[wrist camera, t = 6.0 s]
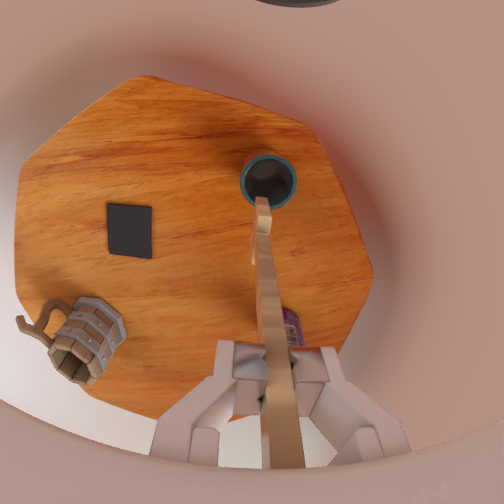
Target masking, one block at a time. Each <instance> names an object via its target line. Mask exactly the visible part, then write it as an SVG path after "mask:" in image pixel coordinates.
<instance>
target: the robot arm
mask: <svg viewBox="0 0 504 504" xmlns="http://www.w3.org/2000/svg"><path fill="white" fill-rule="evenodd" d="M266 353H267V352H266V345H265V344H259V343H250V342H241V341H230V340H222V339H218V342H217V349H216V357H215V365H214V373H213V376H207V377H206V378H205V379H204V380H203V381H202V382H201V383H199V384H198V385H197V386H196V387H195V388H194V389H192V390H191V391H190V392H189V393H188V394H187V395H185V396H184V397H183V398H182V399H181V400H180V401H178V402H177V403H176V404H175V405H174V406H172V407H171V408H170V409H169V410H168V411H166V412H165V413H164V414H163V415H161V416H160V417H159V418H158V421H157V425H156V429H155V433H154V437H153V441H152V445H151V449H150V453H149V456H148V455H143V454H139V453H135V452H131V451H127V450H123V449H119V448H116V447H112V446H109V445H106V444H102V443H99V442H96V441H93V440H90V439H87V438H84V437H82V436H79V435H76V434H73V433H71V432H68V431H66V430H63V429H61V428H58V427H56V426H53V425H51V424H49V423H47V422H44V421H42V420H40V419H38V418H36V417H33V416H31V415H29V414H27V413H25V412H23V411H21V410H19V409H18V408H16V407H14V406H12V405H10V404H8V403H6V402H5V401H3V400H1V399H0V504H504V418H502V419H500V420H498V421H496V422H494V423H492V424H489V425H487V426H485V427H482V428H480V429H478V430H475V431H473V432H470V433H468V434H465V435H462V436H460V437H457V438H454V439H451V440H448V441H446V442H442V443H439V444H436V445H433V446H430V447H426V448H423V449H419V450H416V451H411V448H410V446H409V443H408V440H407V437H406V435H405V432H404V430H403V427H402V425H401V422H400V421H399V420H398V419H397V418H395V417H394V416H393V415H391V414H390V413H389V412H388V411H386V410H385V409H384V408H383V407H381V406H380V405H379V404H378V403H376V402H375V401H374V400H372V399H371V398H370V397H369V396H368V395H366V394H365V393H364V392H362V391H361V390H360V389H359V388H358V387H356V386H355V385H354V384H353V383H351V382H346V379H345V376H344V373H343V370H342V368H341V365H340V362H339V359H338V356H337V353H336V350H335V348H334V347H309V346H289V347H288V353H289V360H290V363H291V369H292V372H291V373H292V379H293V385H294V389H295V395H296V402H297V409H298V416H300V417H302V416H303V417H304V416H305V417H306V416H307V417H309V419H310V420H311V421H312V422H313V423H314V424H315V426H316V427H317V428H318V429H319V431H320V432H321V433H322V434H323V435H324V437H325V438H326V439H327V440H328V441H329V442H330V444H331V445H332V446H333V447H334V448H335V449H336V450H337V452H338V454H337V455H336V456H335V457H334V459H333V460H332V461H331V462H330V463H329V464H328V466H326V467H316V468H315V467H314V468H297V469H247V468H229V467H218V453H219V435H220V432H219V431H220V430H221V429H222V427H223V426H224V425H225V424H226V423H227V422H228V420H229V419H230V418H231V417H232V414H239V415H259V413H260V409H261V405H262V396H263V395H264V394H265V390H266V387H267V383H268V366H267V362H266V361H265V357H266Z"/></svg>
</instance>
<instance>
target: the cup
mask: <svg viewBox="0 0 504 504" xmlns="http://www.w3.org/2000/svg"><path fill="white" fill-rule="evenodd" d="M297 182H298V181H297V176H296V172H295V170H294V168H293V167H292V166H291V164H290V163H289V162H288V161H287V160H286V159H285V158H284V157H282V156H281V155H280V154H278V153H277V152H275V151H273V150H269V149H259V150H256V151H254V152H252V153H251V154H250V155H248V156H247V158H246V159H245V161H244V163H243V166H242V171H241V178H240V187H241V191H242V194H243V196H244V197H245V198H246V200H247V201H248V202H249V203H250V204H251V205H253V206H255V201H256V197H265V198H267V199H268V203H269V207H270V210H274V209H278V208H281V207H283V206H284V205H285V204H287V203H288V202H290V200H291V199H292V197H293V196H294V194H295V192H296V188H297Z"/></svg>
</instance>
